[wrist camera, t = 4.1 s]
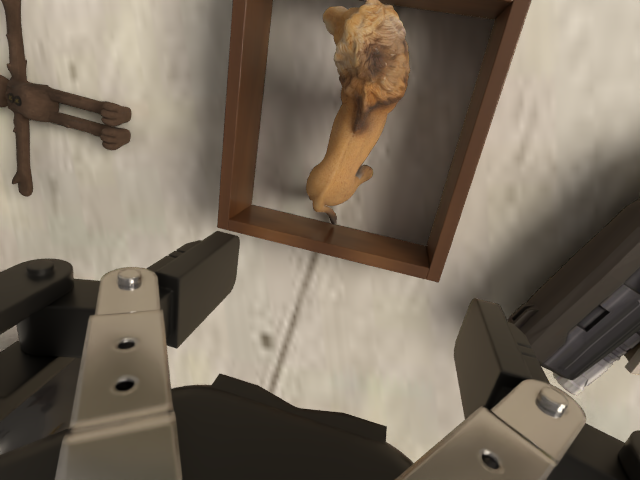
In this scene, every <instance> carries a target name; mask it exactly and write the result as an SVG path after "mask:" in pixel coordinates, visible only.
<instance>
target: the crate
mask: <svg viewBox="0 0 640 480" xmlns="http://www.w3.org/2000/svg"><path fill="white" fill-rule="evenodd" d="M361 1H367V0H361ZM379 1H380V2H381V3H382V4H389V5H395V6H402V7H409V8H416V9H423V10H430V11H437V12H444V13H451V14H457V15H464V16H471V17H478V18H485V19H492V20H495V21H494V24H493V27H492V31H491V34H490V37H489V41H488V44H487V47H486V51H485V54H484V57H483V60H482V64H481V67H480V70H479V74H478V77H477V80H476V84H475V87H474V90H473V94H472V97H471V100H470V103H469V107H468V110H467V113H466V117H465V120H464V123H463V127H462V130H461V133H460V137H459V140H458V143H457V146H456V150H455V153H454V156H453V160H452V163H451V166H450V170H449V173H448V176H447V180H446V183H445V186H444V190H443V193H442V196H441V199H440V203H439V206H438V209H437V213H436V216H435V219H434V223H433V226H432V229H431V233H430V236H429V239H428V242H427V246H424V245H420V244H416V243H412V242H407V241H403V240H399V239H395V238H390V237H386V236H382V235H378V234H373V233H369V232H365V231H361V230H356V229H352V228H348V227H344V226H339V225H333V224H331V223H327V222H322V221H318V220H314V219H310V218H306V217H301V216H297V215H293V214H289V213H284V212H280V211H276V210H272V209H267V208H263V207H259V206H255V205H252V196H253V187H254V177H255V168H256V158H257V148H258V139H259V129H260V120H261V110H262V100H263V91H264V81H265V71H266V62H267V52H268V43H269V33H270V23H271V14H272V4H273V0H233V8H232V22H231V37H230V51H229V66H228V80H227V94H226V109H225V123H224V138H223V152H222V167H221V181H220V195H219V210H218V224H217V227H218V228H221V229H225V230H229V231H233V232H237V233H241V234H245V235H249V236H254V237H258V238H262V239H266V240H270V241H274V242H278V243H282V244H286V245H290V246H294V247H298V248H302V249H306V250H310V251H314V252H318V253H322V254H326V255H330V256H334V257H338V258H342V259H346V260H350V261H354V262H358V263H362V264H366V265H370V266H374V267H378V268H382V269H386V270H390V271H394V272H398V273H402V274H406V275H410V276H414V277H418V278H422V279H427V280H431V281H435V282H439V280H440V277H441V274H442V271H443V268H444V265H445V262H446V259H447V256H448V253H449V250H450V247H451V244H452V241H453V237H454V234H455V231H456V228H457V225H458V222H459V219H460V216H461V213H462V210H463V207H464V204H465V201H466V198H467V195H468V192H469V189H470V186H471V183H472V180H473V177H474V174H475V171H476V168H477V165H478V162H479V158H480V155H481V152H482V149H483V146H484V143H485V140H486V137H487V134H488V131H489V128H490V125H491V122H492V119H493V116H494V113H495V110H496V107H497V104H498V101H499V98H500V95H501V92H502V89H503V86H504V83H505V79H506V76H507V73H508V70H509V67H510V64H511V61H512V58H513V55H514V52H515V49H516V46H517V43H518V40H519V37H520V34H521V31H522V28H523V25H524V22H525V19H526V16H527V13H528V10H529V7H530V4H531V0H379Z"/></svg>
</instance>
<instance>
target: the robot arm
mask: <svg viewBox="0 0 640 480" xmlns="http://www.w3.org/2000/svg"><path fill="white" fill-rule="evenodd" d="M239 245H240V240H239V237H238V236H235V235H231V234H228V233H224V232H220V231H216V232H215V233H213V234H211V235H210V236H208V237H207V238H205V239H204V240H202V241H201V240H198V241H195V242H191V243H187V244H185V245H183V246H182V247H180V248H179V249H177V251H174V252H172V253H171V254H169V256H166V257H164V258H163V259H161V260H159V261H158V262H156V263H155V264H153V265H151V266H150V267H148V268H147V269H145V268H139V267H125V268H119V269H115V270H112V271H110V272H108V273H106V274H105V275H104V276H103V277H102V278H101V280H100V281H94V280H82V279H74V277H73V267H72V265H71V264H70V263H68V262H66V261H63V260H59V259H37V260H31V261H27V262H23V263H20V264H18V265H15V266H13V267H11V268H9V269H7V270H4V271H2V272H0V334H2V333H3V332H5V331H7V330H8V329H10V328H12V327H13V326H15V325H17V330H18V336H19V340H18V341H17V342H15V343H14V344H12V345H11V346H9V347H8V348H6V349H5V350H3V351H2V352H0V480H640V431H634V432H633V433H632V434H631V435H630V437H629V438H628V440H627V441H626V442H625V443H624V442H622V441H620V440H618V439H616V438H614V437H612V436H610V435H608V434H606V433H604V432H602V431H600V430H598V429H596V428H594V427H592V426H590V425H588V424H586V415H585V413H584V411H583V409H582V408H581V406H580V405H579V404H578V403H577V402H576V401H575V400H574V399H573V398H572V397H571V396H569V395H568V394H567V393H565V392H564V391H562V390H561V389H559V388H557V387H555V386H553V385H551V384H550V383H549V381H548V379H547V377H546V375H545V373H544V371H543V369H542V367H541V365H540V363H539V361H538V359H537V358H536V355H535V353H534V351H533V349H531V345H530V343H529V341H528V339H527V337H526V335H525V334H524V333H523V332H522V331H521V330H519V329H518V328H517V327H516V326H515V325H514V324H512V323H508V322H507V320H506V318H505V315H504V313H503V311H502V309H501V306H500V305H499V304H496V303H492V302H488V301H484V300H480V299H476V298H474V299H473V300H472V301H471V303H470V305H469V308H468V310H467V313H466V315H465V318H464V321H463V323H462V326H461V328H460V331H459V334H458V336H457V339H456V343H455V348H454V360H455V366H456V371H457V377H458V383H459V388H460V394H461V400H462V405H463V411H464V417H465V420H464V421H463V422H462V423H461V424H459V425H458V426H457V427H456V428H455V429H454V430H452V431H451V432H450V433H449V434H448V435H447V436H445V437H444V438H443V439H442V440H441V441H440V442H438V443H437V444H436V445H435V446H434V447H433V448H431V449H430V450H429V451H428V452H427V453H426V454H424V455H423V456H422V457H421V458H420V459H419V460H417V461H416V462H415V463H413V462H412V461H411V460H410V459H409V458H408V457H406V456H405V455H404V454H403V453H402V452H400V451H399V450H398V449H396V448H395V447H393V446H392V445H390V444H389V443H387V442H386V429H387V427H386V426H383V425H380V424H377V423H374V422H370V421H367V420H364V419H361V418H358V417H355V416H352V415H349V414H345V413H340V412H330V411H320V410H310V409H301V408H297V407H295V406H293V405H291V404H289V403H287V402H286V401H284V400H282V399H281V398H279V397H277V396H275V395H274V394H272V393H270V392H268V391H267V390H265V389H263V388H262V387H260V386H258V385H254V384H251V383H248V382H245V381H242V380H239V379H236V378H233V377H229V376H226V375H223V374H219V375H218V377H217V378H216V380H215V381H214V382H213V384H212V385H190V386H183V387H177V388H173V389H171V384H170V374H169V365H168V355H167V346H171V347H174V348H178V347H179V346H180V345H181V344H182V343H183V342H184V341H185V339H186V338H187V337H188V336H189V335H190V334H191V333H192V332H193V331H194V330H195V329H196V328H197V327H198V326H199V325H200V324H201V323H202V322H203V321H204V320H205V318H206V317H207V316H208V315H209V314H210V313H211V312H212V311H213V310H214V309H215V308H216V307H217V306H218V305H219V304H220V303H221V302H222V301H223V300H224V299H225V297H226V296H227V295H228V294H229V293H230V292H231V290H232V289H233V286H234V284H235V280H236V275H237V265H238V255H239Z"/></svg>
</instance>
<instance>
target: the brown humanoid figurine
mask: <svg viewBox="0 0 640 480" xmlns="http://www.w3.org/2000/svg"><path fill="white" fill-rule="evenodd" d="M1 1H2V3H3V5H4V9H5V14H6V22H7V34H6V36H7V39H8V43H9V61H10V63H9V64H7V67H8V70H9V71H10V73H11V76H12V77H11V79H10V80H8V79H7V78H6V77H4V76H2V75H0V107H6V106H8V108H9V109H11V110H12V111H13V112H14V126H15V128H14V130H13V132H15V134H16V150H17V154H16V155H17V172H16V174H15V176H14V178H13V180H12V184H16V183H18V188H19V192H20V193H21V194H22V195H24V196H30V195H31V194H32V192H33V183H32V176H31V169H30V129H29V119H30V120H31V119H32V120H35V121H41V122H51V123H55V124H59V125H62V126H65V127H67V128H74V129H77V130H81V131H85V132H88V133H91V134H93V135H95V136H99V137H100V138H101V140H102V141H103V143H102V145H103V147H104V148H106V149H109V150H116V149H118V148H119V147H121V146H122V145H124V144H127V143H129V141H130V131H129V130H127V129H123V128H116V127H114V126H118V125H120V124H122V123H125V122H128V121H130V119H131V109H130V108H128V107H123V106H119V105H117V104H114V103H110V102H101V101H97V100H93V99H89V98H85V97H82V96H78V95H74V94H71V93H67V92H63V91H60V90H56V89H52V88H50V87H48V85H40V84H33V83H30V82H28V81H27V76H26V64H27V60H25V55H24V46H23V37H22V28H21V0H1ZM59 103H62V104H66V105H69V106H73V107H77V108H80V109H84V110H88V111H91V112H95V113H98V114H101V116H103V118H102V119H101V120H102V122H103V123H104V124H105V125H104V124H100V123H96V122H93V121H89V120H85V119H81V118H78V117H74V116H70V115H66V114H63V113H59ZM111 126H112V127H111Z"/></svg>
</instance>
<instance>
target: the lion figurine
mask: <svg viewBox="0 0 640 480" xmlns="http://www.w3.org/2000/svg"><path fill="white" fill-rule="evenodd" d="M323 22H324V23H325V25H326V28H327V30H328V32H329V33H330V34H332V35H333V36H334V41H335V44H336V46H337V47H336V52H335V55H334V61H335V64H336V66H337V68H338V69H337V70H338V73H339V75H340V77H339V80H340V82H341V84H342V90H341V100H342V105H341V107H340V109H339V111H338V113H337V115H336V118H335V120H334V123H333V126H332V130H331V134H330V138H329V143H328V148H327V152H326V155H325V157H324V159H323V160H322V162H321V163H320V164H318V165H317V166H315V167H314V168H313V169H312V171H311V173H310V175H309V177H308V179H307V185H306V191H307V194H308V195H309V199H310V200H312V201H313V209H314V210H315V211H316V212H325V213H326V214H327V215H329V218H330V221H331V223H332V224H333V225H336V220H337V216H336V214H335V212H334V211H333V210H332V209H331V208H329V207H328V206H335V205H338V204H341V203H343V202H345V201H347V200H348V199H349V198H350V197H351V196H352V195H353V194H354V192H355V191H356V189H357V188H358V186H359V185H360V184H362V183H363V182H365V181H367V180H369V179H370V178H371V177H372V175H373V170H372V168H371V167H369V166H367V165H363V166H361V165H362V163H363V162H364V161H365V159H366V158H367V156H368V155H369V153H370V152H371V150H372V148H373V147H374V145H375V144H376V142H377V141H378V139H379V137H380V135H381V133H382V130H383V128H384V125H385V122H386V118H387V114H388V113H389V112H391V111H392V110H393V109H394V107H395V106H396V104H397V102H398V101H399V100H400V99H401V98H402V97H403V96H404V93H405V91H406V88H407V81H408V78H409V76H408V74H409V73H410V67H409V52H408V44H407V42H406V41H405V35H406V31H405V28H404V27H403V23H402V22H401V21H400V20H399V17H398V14H397V12H396V11H395V10H394V9H393V6H392V5H384V4H382V3H381V2H380V1H379V0H367V1H366V3H365V4H364V5H362V6H360V8H350V9H348V10H347V9H346V8H345V7H343V6H336V7H329V8H328V9H327V10H326V11H325V12H324V14H323ZM360 166H361V167H360ZM359 167H360V168H359ZM357 170H358V171H357ZM325 205H327V206H325Z"/></svg>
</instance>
